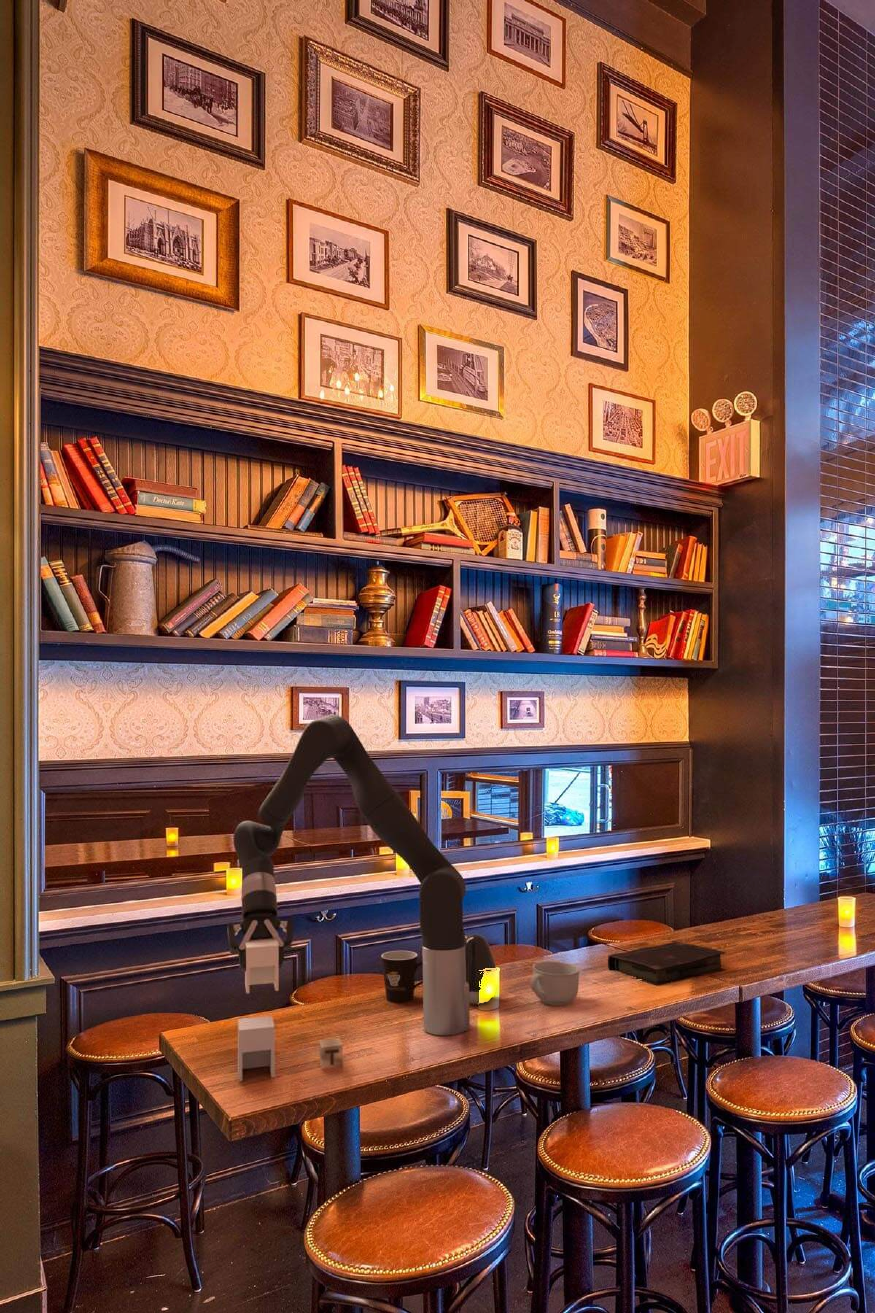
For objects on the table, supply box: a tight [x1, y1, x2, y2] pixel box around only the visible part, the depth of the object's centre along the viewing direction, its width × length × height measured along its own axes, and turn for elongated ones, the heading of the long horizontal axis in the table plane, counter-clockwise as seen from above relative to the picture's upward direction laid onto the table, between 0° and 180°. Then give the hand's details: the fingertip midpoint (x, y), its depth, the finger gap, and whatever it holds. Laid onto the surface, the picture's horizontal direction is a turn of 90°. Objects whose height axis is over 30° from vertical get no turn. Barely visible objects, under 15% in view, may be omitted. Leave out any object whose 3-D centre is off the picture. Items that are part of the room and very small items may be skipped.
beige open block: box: [244, 938, 279, 994], centre depth 176 cm, size 6×6×9 cm
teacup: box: [529, 960, 580, 1007], centre depth 197 cm, size 14×11×8 cm
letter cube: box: [318, 1038, 344, 1070], centre depth 162 cm, size 4×4×4 cm
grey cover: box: [237, 1015, 276, 1082], centre depth 159 cm, size 6×6×9 cm
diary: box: [607, 941, 727, 986], centre depth 222 cm, size 19×25×5 cm
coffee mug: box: [380, 950, 423, 1004], centre depth 201 cm, size 12×9×10 cm
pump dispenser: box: [465, 933, 497, 1005], centre depth 200 cm, size 10×10×15 cm
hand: (262, 968), depth 174 cm, fingers closed on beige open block, 6 cm apart
